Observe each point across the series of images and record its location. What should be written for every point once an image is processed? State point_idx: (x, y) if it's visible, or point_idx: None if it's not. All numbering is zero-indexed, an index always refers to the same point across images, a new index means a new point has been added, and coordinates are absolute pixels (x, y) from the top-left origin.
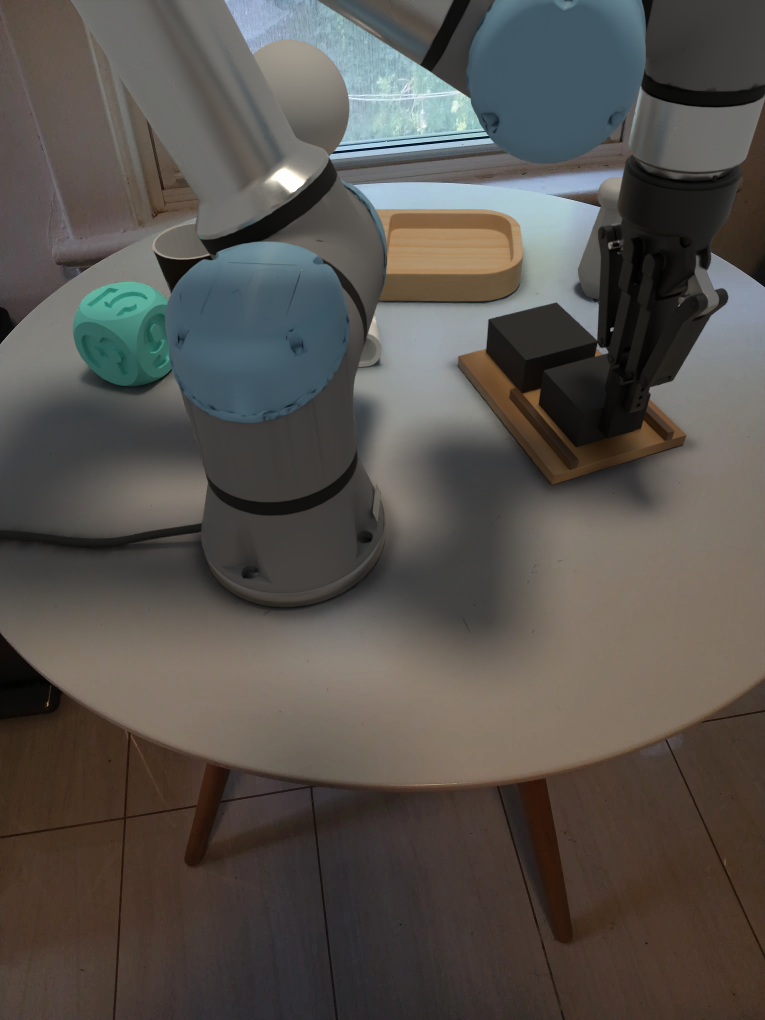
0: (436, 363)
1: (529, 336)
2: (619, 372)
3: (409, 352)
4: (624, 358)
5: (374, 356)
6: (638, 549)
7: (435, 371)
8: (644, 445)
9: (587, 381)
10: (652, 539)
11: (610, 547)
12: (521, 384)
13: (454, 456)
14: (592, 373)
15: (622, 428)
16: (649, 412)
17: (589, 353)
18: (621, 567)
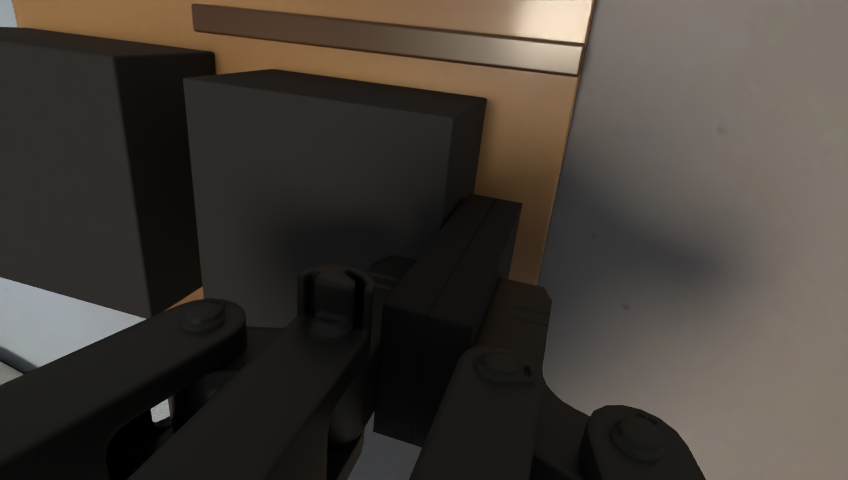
0: (82, 305)
1: (52, 234)
2: (406, 430)
3: (42, 323)
4: (357, 419)
5: None
6: (819, 399)
7: (105, 323)
8: (555, 149)
9: (296, 254)
10: (824, 352)
11: (760, 437)
12: None
13: None
14: (266, 211)
15: (510, 259)
16: (459, 53)
17: (152, 83)
18: (828, 464)
